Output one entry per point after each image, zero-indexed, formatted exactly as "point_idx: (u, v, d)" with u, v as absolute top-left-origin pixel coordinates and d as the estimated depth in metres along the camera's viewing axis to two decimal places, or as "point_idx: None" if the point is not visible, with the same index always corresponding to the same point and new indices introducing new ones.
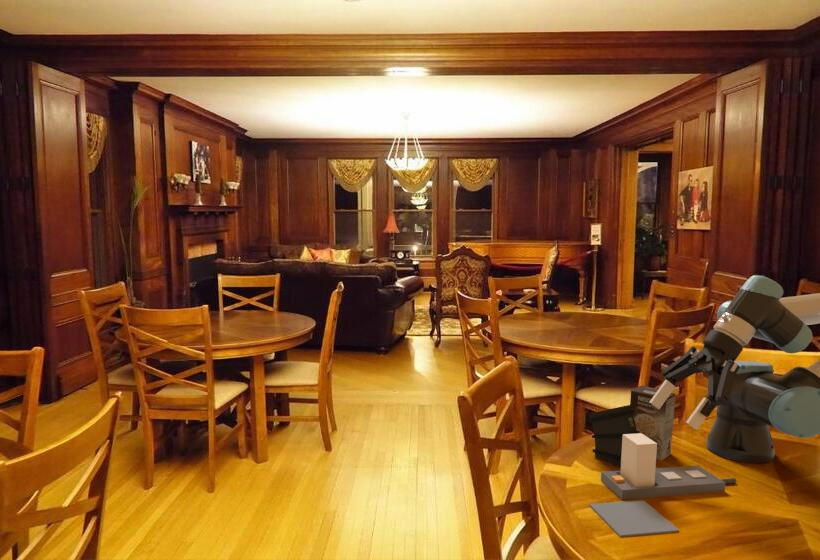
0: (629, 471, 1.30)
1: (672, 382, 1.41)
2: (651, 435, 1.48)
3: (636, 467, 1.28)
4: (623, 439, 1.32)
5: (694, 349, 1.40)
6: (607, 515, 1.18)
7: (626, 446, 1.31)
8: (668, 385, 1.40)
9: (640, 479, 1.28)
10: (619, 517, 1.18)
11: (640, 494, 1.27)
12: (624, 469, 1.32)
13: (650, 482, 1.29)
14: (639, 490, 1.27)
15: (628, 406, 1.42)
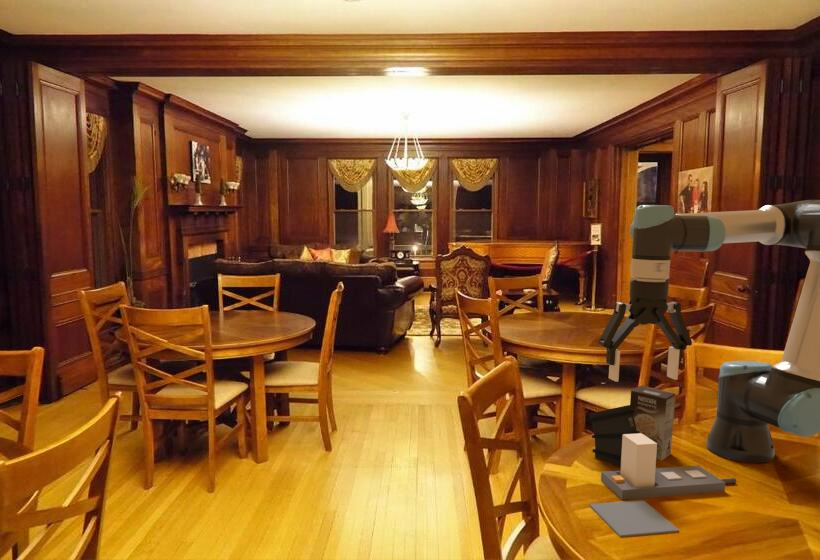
0: (629, 471, 1.30)
1: None
2: (651, 435, 1.48)
3: (636, 467, 1.28)
4: (623, 439, 1.32)
5: None
6: (607, 515, 1.18)
7: (626, 446, 1.31)
8: None
9: (640, 479, 1.28)
10: (619, 517, 1.18)
11: (640, 494, 1.27)
12: (624, 469, 1.32)
13: (650, 482, 1.29)
14: (639, 490, 1.27)
15: (628, 406, 1.42)
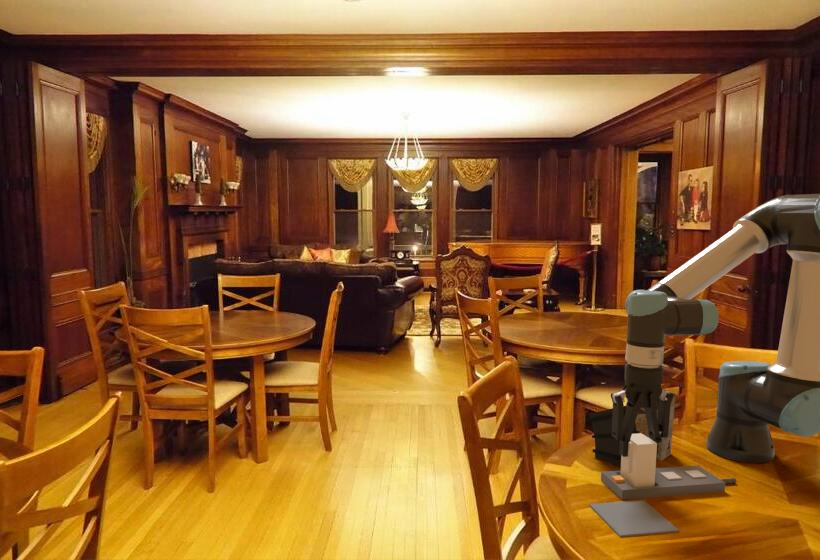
0: None
1: None
2: None
3: (636, 467, 1.28)
4: None
5: None
6: (607, 515, 1.18)
7: None
8: None
9: (640, 479, 1.28)
10: (619, 517, 1.18)
11: (640, 494, 1.27)
12: None
13: (650, 482, 1.29)
14: (639, 490, 1.27)
15: None
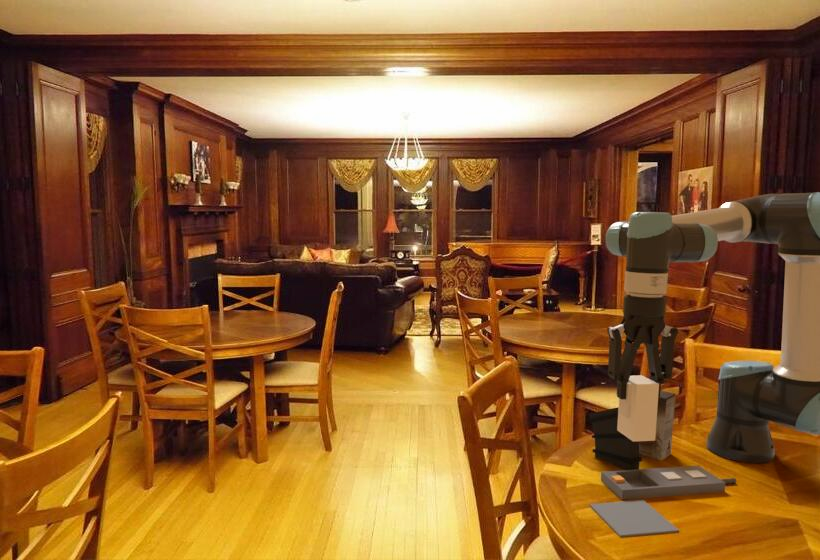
0: None
1: None
2: None
3: (635, 410, 1.13)
4: None
5: (618, 330, 1.13)
6: (607, 515, 1.18)
7: None
8: None
9: (639, 423, 1.14)
10: (619, 517, 1.18)
11: (640, 494, 1.27)
12: None
13: (651, 428, 1.14)
14: (639, 490, 1.27)
15: None
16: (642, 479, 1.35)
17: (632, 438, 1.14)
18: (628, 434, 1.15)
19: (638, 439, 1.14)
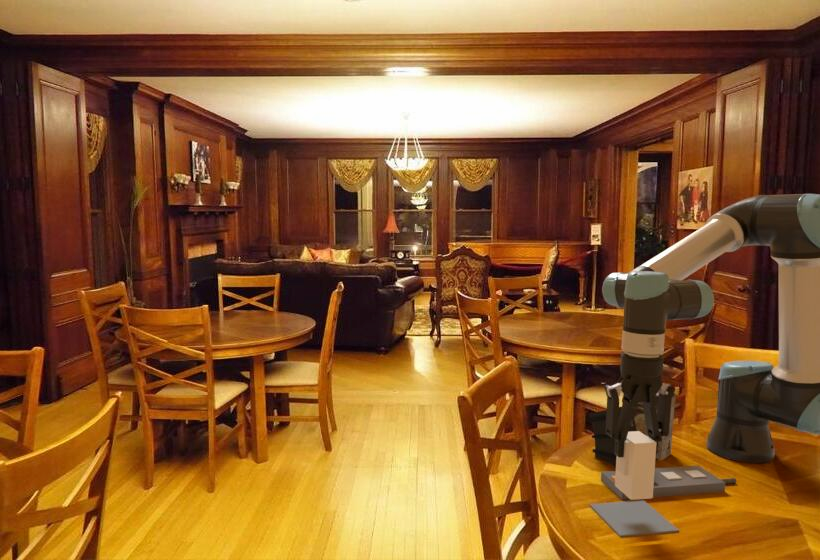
0: None
1: None
2: None
3: (633, 469, 1.14)
4: None
5: (615, 389, 1.13)
6: (607, 515, 1.18)
7: None
8: None
9: (637, 482, 1.14)
10: (619, 517, 1.18)
11: None
12: None
13: (649, 486, 1.15)
14: None
15: None
16: None
17: (630, 496, 1.15)
18: (626, 491, 1.16)
19: (636, 497, 1.15)
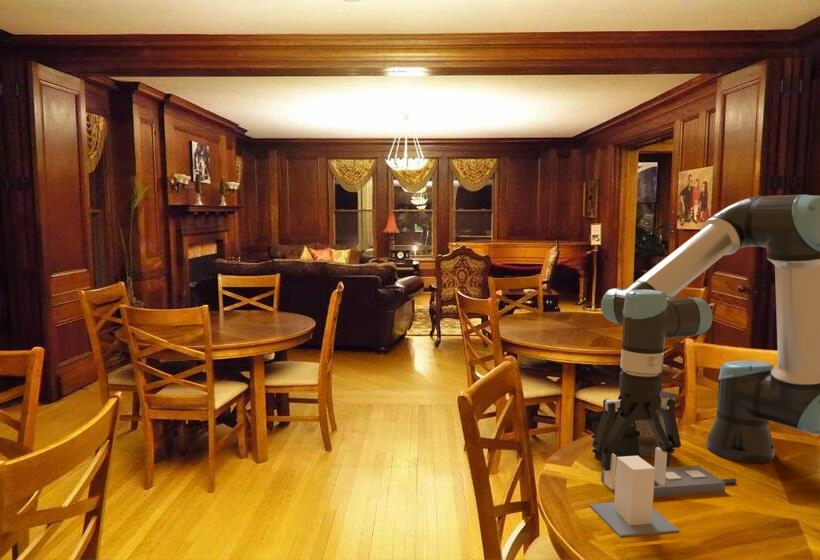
0: (624, 499, 1.17)
1: None
2: (651, 435, 1.48)
3: (632, 494, 1.14)
4: (617, 462, 1.19)
5: None
6: (607, 515, 1.18)
7: (621, 470, 1.18)
8: None
9: (636, 507, 1.15)
10: (619, 517, 1.18)
11: None
12: (618, 496, 1.19)
13: (648, 511, 1.15)
14: None
15: None
16: None
17: (629, 522, 1.15)
18: (625, 517, 1.17)
19: (635, 523, 1.15)
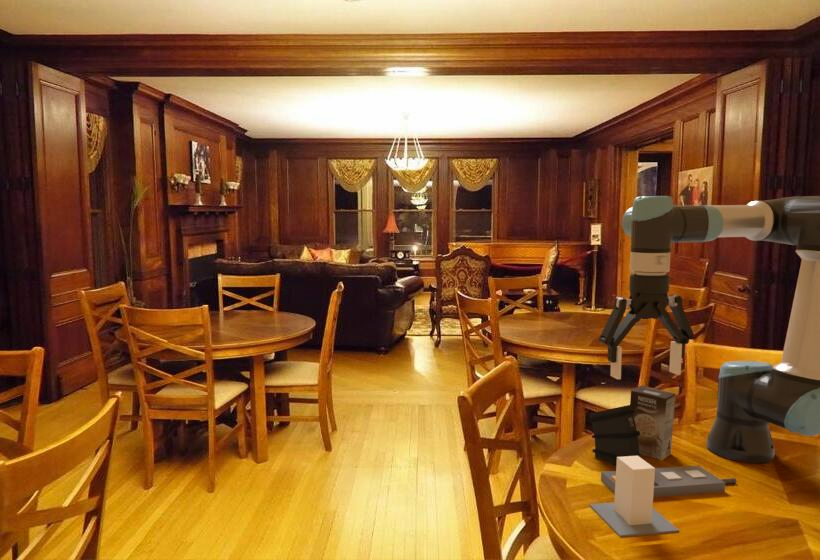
0: (624, 499, 1.17)
1: None
2: (651, 435, 1.48)
3: (632, 494, 1.14)
4: (617, 462, 1.19)
5: None
6: (607, 515, 1.18)
7: (621, 470, 1.18)
8: None
9: (636, 507, 1.15)
10: (619, 517, 1.18)
11: None
12: (618, 496, 1.19)
13: (648, 511, 1.15)
14: None
15: (628, 406, 1.42)
16: None
17: (629, 522, 1.15)
18: (625, 517, 1.17)
19: (635, 523, 1.15)
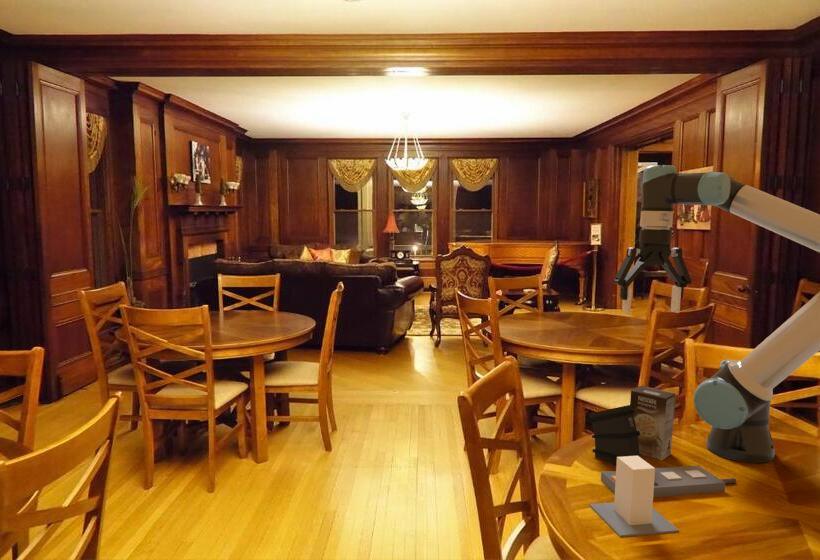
0: (624, 499, 1.17)
1: None
2: (651, 435, 1.48)
3: (632, 494, 1.14)
4: (617, 462, 1.19)
5: None
6: (607, 515, 1.18)
7: (621, 470, 1.18)
8: None
9: (636, 507, 1.15)
10: (619, 517, 1.18)
11: None
12: (618, 496, 1.19)
13: (648, 511, 1.15)
14: None
15: (628, 406, 1.42)
16: None
17: (629, 522, 1.15)
18: (625, 517, 1.17)
19: (635, 523, 1.15)
